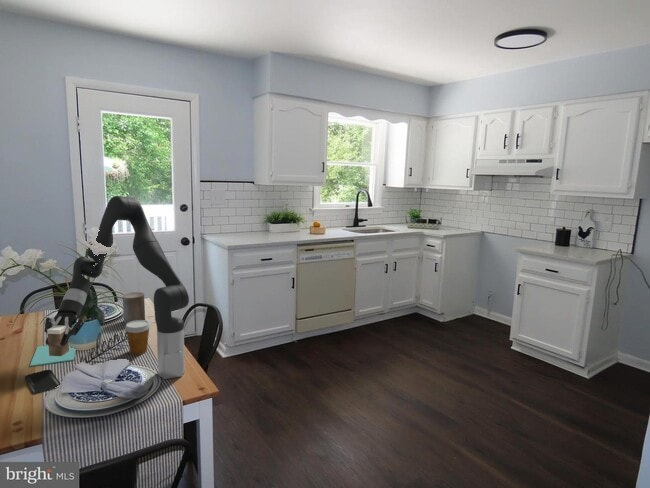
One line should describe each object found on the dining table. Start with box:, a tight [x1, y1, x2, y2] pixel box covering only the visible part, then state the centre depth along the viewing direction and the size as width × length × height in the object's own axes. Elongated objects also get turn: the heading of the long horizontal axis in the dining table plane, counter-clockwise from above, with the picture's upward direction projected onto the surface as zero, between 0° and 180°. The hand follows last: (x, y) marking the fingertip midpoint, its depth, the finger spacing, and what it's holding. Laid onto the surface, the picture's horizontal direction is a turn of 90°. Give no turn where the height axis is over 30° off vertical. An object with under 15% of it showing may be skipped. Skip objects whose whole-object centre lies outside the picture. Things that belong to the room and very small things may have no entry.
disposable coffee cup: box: [124, 319, 151, 356], centre depth 169 cm, size 10×10×12 cm
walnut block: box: [46, 325, 70, 356], centre depth 152 cm, size 4×4×10 cm
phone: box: [24, 369, 61, 395], centre depth 143 cm, size 8×1×15 cm
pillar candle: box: [122, 291, 146, 325], centre depth 202 cm, size 10×10×15 cm
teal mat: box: [29, 345, 77, 368], centre depth 165 cm, size 18×14×1 cm
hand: (55, 344), depth 150 cm, fingers closed on walnut block, 4 cm apart
